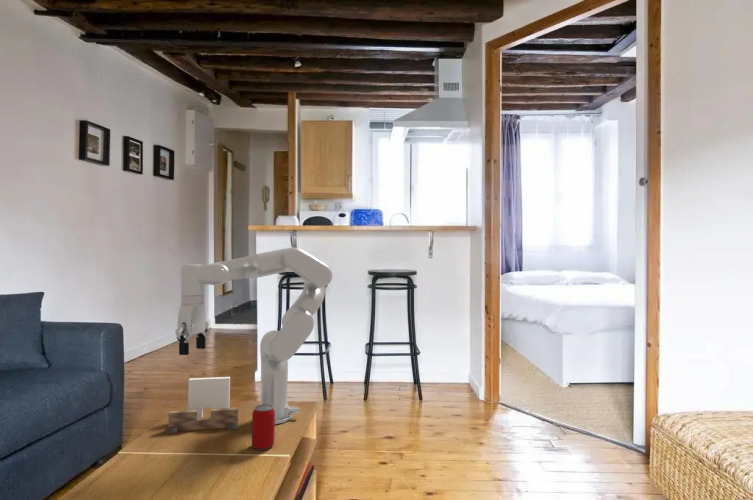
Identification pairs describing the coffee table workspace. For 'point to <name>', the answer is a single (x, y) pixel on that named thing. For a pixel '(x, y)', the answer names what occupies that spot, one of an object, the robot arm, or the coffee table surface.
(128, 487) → the coffee table surface
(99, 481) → the coffee table surface
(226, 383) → the pale notched plate
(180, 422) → the walnut slotted board
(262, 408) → the beverage can
